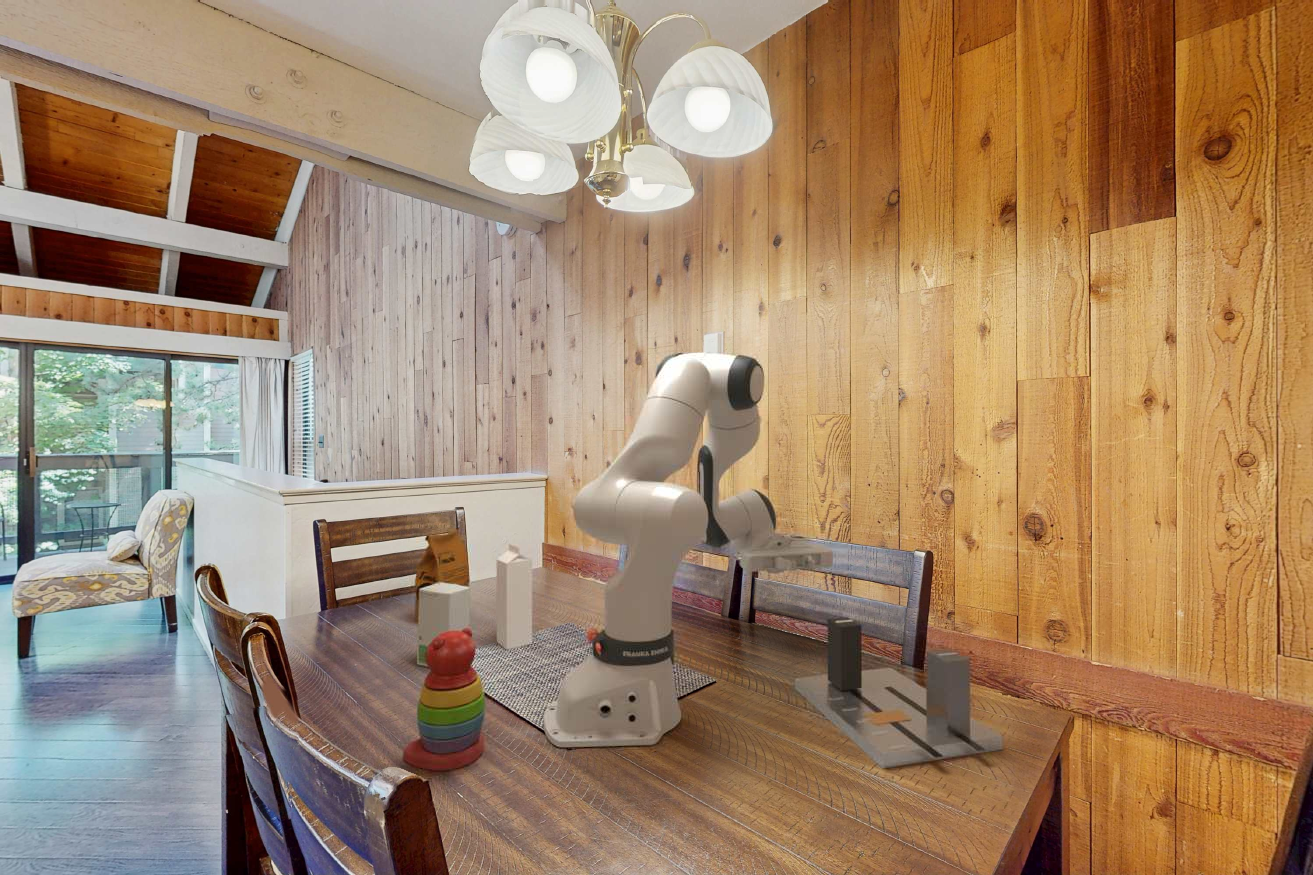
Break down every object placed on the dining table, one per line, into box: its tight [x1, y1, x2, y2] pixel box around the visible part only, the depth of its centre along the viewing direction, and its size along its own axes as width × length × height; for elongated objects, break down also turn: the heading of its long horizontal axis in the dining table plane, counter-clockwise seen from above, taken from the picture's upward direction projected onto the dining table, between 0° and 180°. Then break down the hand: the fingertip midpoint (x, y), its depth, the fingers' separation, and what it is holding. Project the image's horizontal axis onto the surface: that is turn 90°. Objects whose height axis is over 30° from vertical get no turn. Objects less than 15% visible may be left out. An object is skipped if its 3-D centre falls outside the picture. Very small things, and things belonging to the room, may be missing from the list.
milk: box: [496, 543, 533, 651], centre depth 129 cm, size 6×6×22 cm
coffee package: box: [414, 529, 470, 623], centre depth 147 cm, size 10×12×22 cm
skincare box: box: [416, 582, 471, 668], centre depth 118 cm, size 8×7×16 cm
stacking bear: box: [403, 627, 486, 771], centre depth 84 cm, size 11×10×18 cm
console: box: [794, 648, 1003, 769], centre depth 94 cm, size 20×28×13 cm
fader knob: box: [827, 617, 863, 690], centre depth 102 cm, size 4×4×11 cm
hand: (802, 565), depth 117 cm, fingers open, 3 cm apart
